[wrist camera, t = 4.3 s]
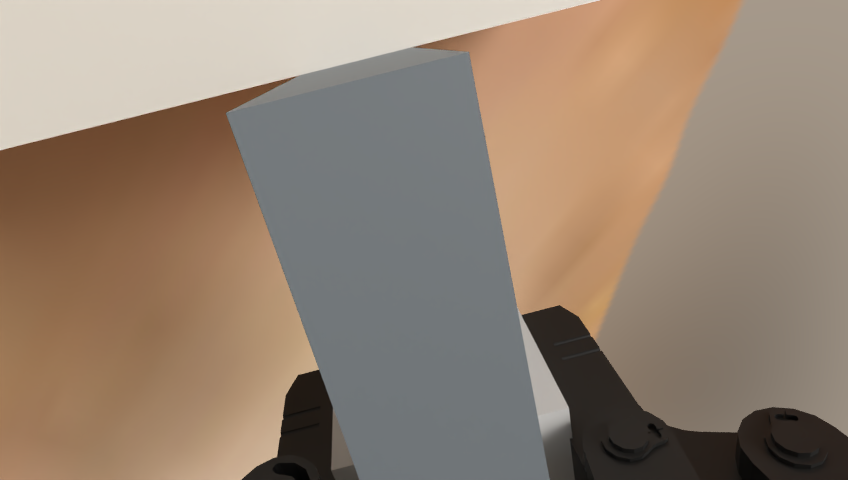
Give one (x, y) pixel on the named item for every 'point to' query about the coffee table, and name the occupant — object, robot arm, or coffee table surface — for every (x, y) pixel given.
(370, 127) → the flap
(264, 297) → the coffee table surface
